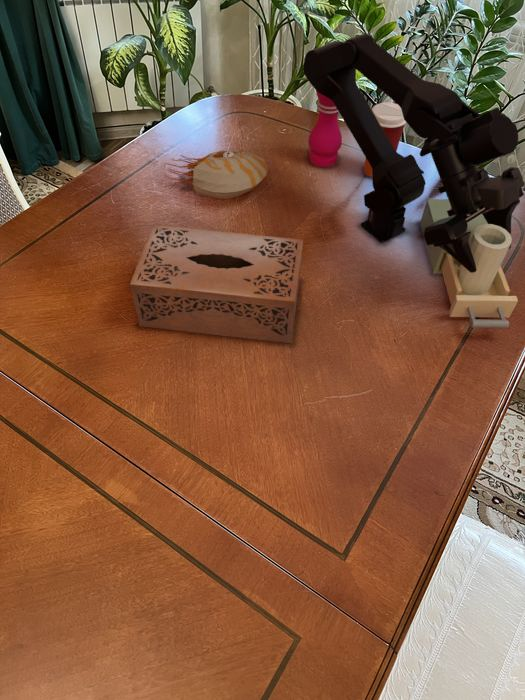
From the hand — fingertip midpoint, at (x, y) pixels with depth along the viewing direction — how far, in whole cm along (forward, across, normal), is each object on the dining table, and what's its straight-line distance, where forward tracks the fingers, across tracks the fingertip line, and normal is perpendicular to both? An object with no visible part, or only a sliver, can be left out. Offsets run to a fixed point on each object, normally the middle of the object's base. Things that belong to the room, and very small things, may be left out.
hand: (491, 260), depth 96 cm
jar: (+4, 0, +6) cm, 7 cm away
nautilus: (-32, -18, +44) cm, 58 cm away
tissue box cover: (-12, -37, +25) cm, 46 cm away
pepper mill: (-27, +7, +40) cm, 49 cm away
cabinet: (-1, +7, +13) cm, 15 cm away
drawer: (+6, -1, +5) cm, 8 cm away
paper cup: (-20, +13, +32) cm, 40 cm away
